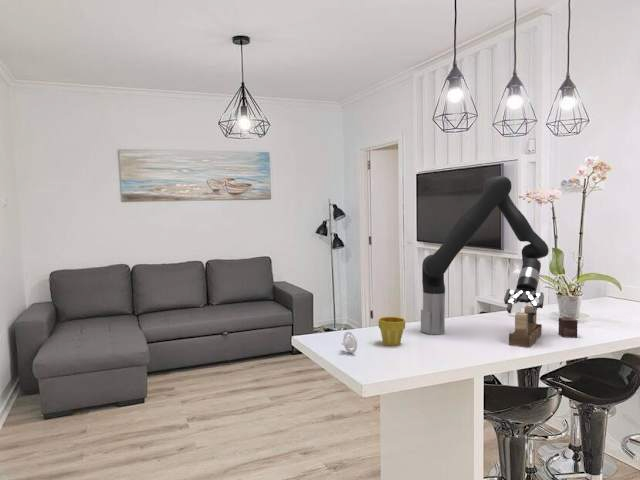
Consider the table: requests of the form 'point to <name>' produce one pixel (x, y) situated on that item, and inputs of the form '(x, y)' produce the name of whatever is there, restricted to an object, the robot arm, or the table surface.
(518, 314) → the block
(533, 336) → the rail
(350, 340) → the ring around a ball
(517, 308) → the candle
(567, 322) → the box
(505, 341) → the table surface
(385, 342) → the plant pot
